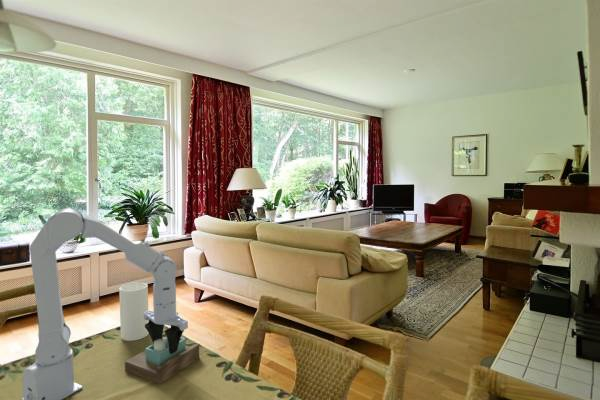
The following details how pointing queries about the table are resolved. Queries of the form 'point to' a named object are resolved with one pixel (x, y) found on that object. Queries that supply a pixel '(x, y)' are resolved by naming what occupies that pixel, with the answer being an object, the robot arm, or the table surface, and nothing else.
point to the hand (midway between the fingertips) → (165, 349)
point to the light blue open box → (162, 351)
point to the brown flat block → (166, 369)
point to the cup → (133, 311)
